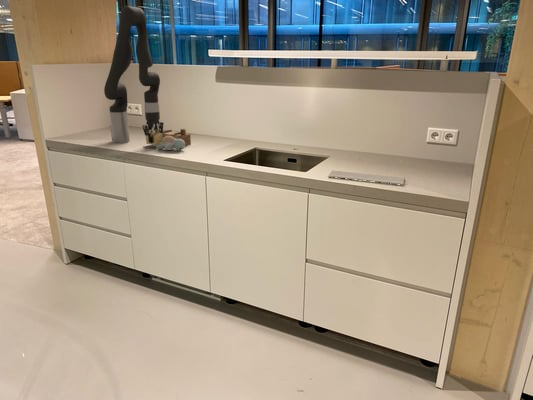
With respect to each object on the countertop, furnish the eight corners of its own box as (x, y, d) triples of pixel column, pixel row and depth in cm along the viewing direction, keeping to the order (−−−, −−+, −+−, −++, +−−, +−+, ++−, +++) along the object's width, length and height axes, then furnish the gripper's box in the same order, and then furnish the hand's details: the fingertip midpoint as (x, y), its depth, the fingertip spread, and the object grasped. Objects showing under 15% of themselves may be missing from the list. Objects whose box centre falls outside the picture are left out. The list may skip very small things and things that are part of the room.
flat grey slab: (333, 171, 186) (328, 179, 175) (333, 165, 185) (328, 172, 174) (404, 179, 176) (403, 187, 165) (405, 172, 175) (404, 180, 164)
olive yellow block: (146, 143, 225) (145, 131, 223) (152, 142, 229) (151, 130, 227) (157, 145, 221) (156, 133, 219) (163, 143, 225) (162, 131, 223)
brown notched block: (162, 143, 235) (160, 127, 232) (171, 141, 241) (170, 126, 238) (182, 146, 228) (181, 130, 225) (190, 144, 234) (190, 128, 231)
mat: (143, 147, 225) (142, 146, 225) (153, 144, 231) (153, 144, 231) (156, 149, 220) (156, 148, 220) (166, 146, 227) (166, 146, 227)
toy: (159, 161, 216) (182, 149, 211) (150, 143, 214) (173, 132, 209) (168, 156, 227) (191, 145, 222) (160, 139, 225) (182, 128, 220)
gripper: (156, 109, 227) (158, 139, 232) (137, 111, 215) (139, 143, 221) (166, 110, 223) (168, 140, 229) (147, 112, 212) (150, 145, 217)
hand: (154, 142), depth 225 cm, fingers closed on olive yellow block, 4 cm apart
